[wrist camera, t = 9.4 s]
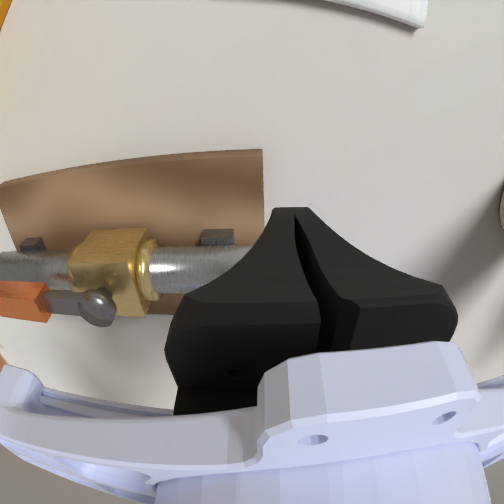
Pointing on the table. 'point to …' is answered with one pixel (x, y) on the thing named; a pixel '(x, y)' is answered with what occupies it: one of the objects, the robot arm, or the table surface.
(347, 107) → the table surface
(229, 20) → the table surface
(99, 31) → the table surface
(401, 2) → the external hard drive
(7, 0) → the packaging box
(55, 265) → the valve pipe
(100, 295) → the valve lever
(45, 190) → the base board
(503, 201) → the travel mug
